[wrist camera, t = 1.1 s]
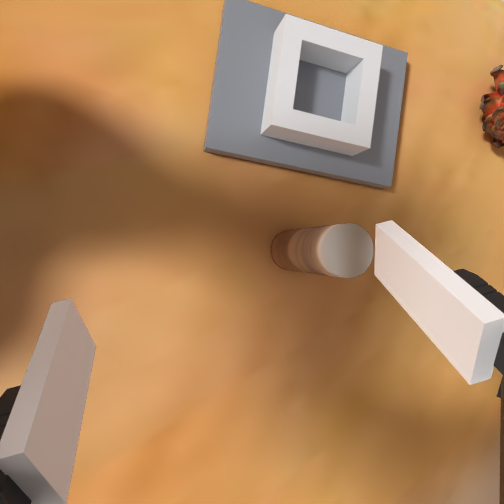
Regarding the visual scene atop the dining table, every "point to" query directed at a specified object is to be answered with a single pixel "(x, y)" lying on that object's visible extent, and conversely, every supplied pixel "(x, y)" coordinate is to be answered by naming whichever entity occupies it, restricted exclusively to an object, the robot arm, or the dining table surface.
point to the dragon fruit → (495, 109)
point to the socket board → (304, 96)
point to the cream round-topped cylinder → (325, 250)
